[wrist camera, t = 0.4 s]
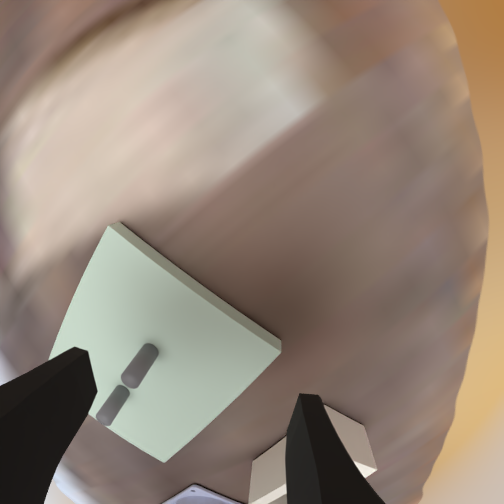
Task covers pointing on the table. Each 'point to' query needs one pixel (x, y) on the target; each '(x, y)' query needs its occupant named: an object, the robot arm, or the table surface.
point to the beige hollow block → (273, 461)
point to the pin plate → (159, 345)
